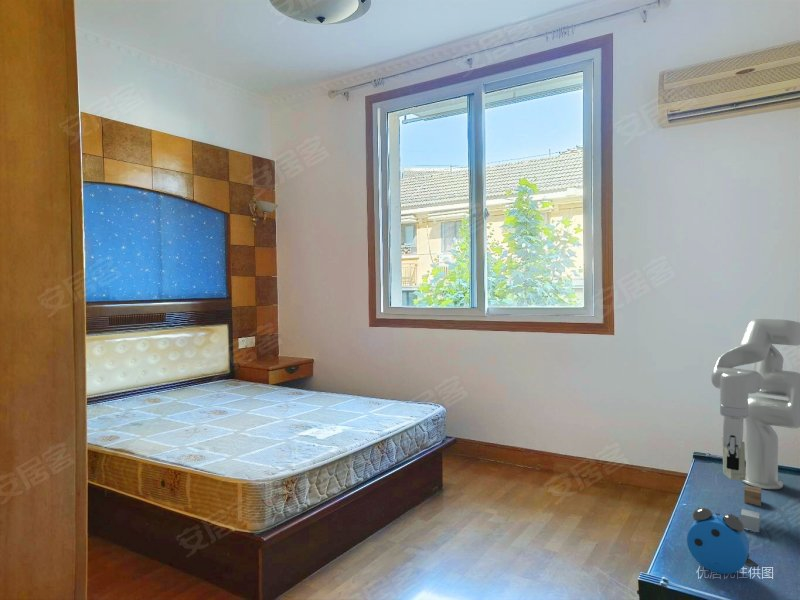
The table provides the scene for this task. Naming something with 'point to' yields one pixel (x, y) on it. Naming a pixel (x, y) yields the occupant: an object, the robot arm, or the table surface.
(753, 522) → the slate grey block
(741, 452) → the skincare box
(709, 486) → the table surface
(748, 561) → the strap clip
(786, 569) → the table surface
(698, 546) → the alarm clock
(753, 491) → the walnut block
